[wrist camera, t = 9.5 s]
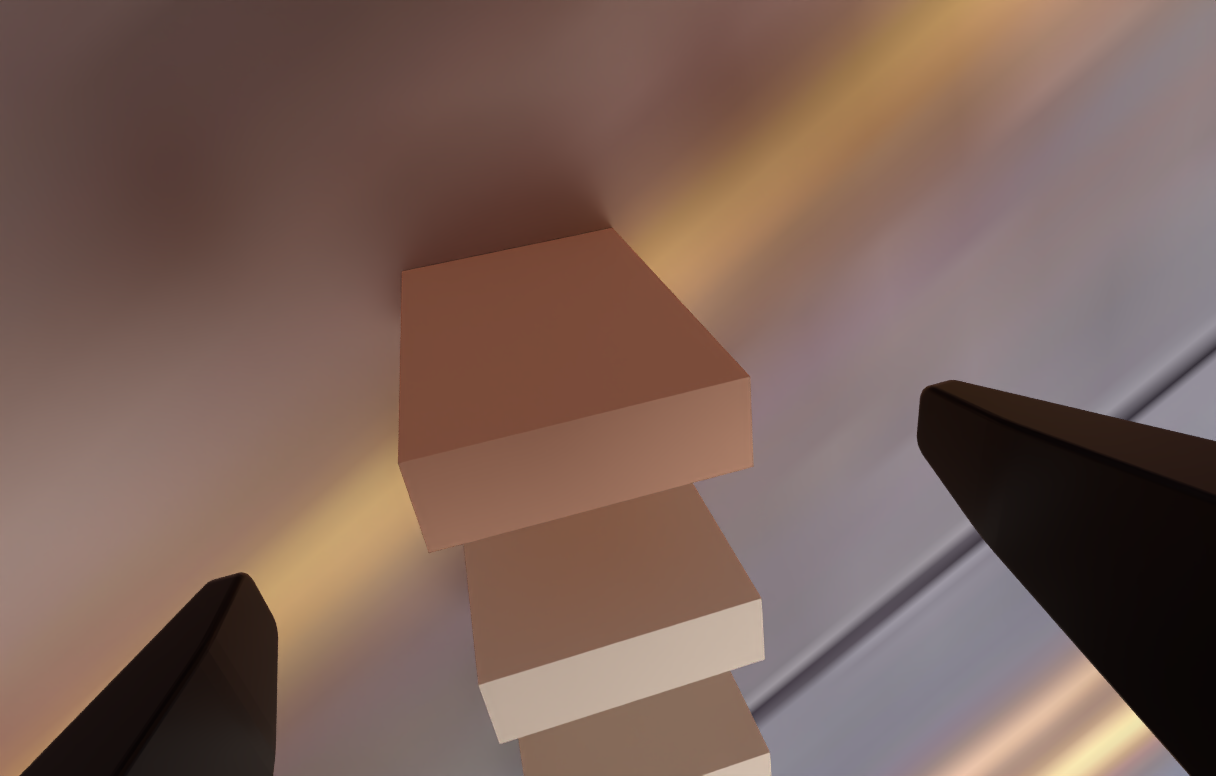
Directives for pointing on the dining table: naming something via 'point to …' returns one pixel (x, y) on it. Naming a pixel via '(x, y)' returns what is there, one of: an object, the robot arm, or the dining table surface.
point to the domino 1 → (556, 388)
